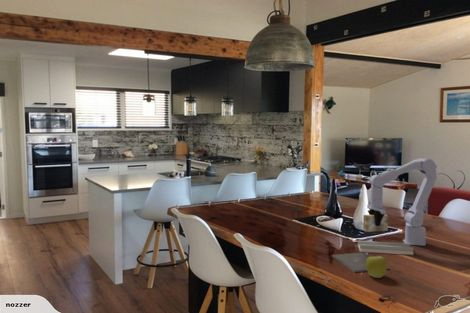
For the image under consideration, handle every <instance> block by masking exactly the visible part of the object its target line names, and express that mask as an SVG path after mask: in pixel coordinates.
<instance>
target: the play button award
mask: <svg viewBox="0 0 470 313" xmlns="http://www.w3.org/2000/svg"><path fill="white" fill-rule="evenodd" d="M369 257H372V256H370V255H369V254H368V253H367V252H351V253H340V254H331V258H332V259H334V260H336V261H337V262H338V263H340V264H341V265H343V266H345V267H346V268H347V269H349V270H350V271H352V272H353V273H362V272H363V273H365V272H368V271H367V267H366V261H367V259H368V258H369ZM389 269H390V266H389V265H387V270H389Z"/></svg>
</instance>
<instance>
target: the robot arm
mask: <svg viewBox="0 0 470 313" xmlns="http://www.w3.org/2000/svg"><path fill="white" fill-rule="evenodd" d="M436 169H437V165H436V163H435V161H434V160H433V159H430V158H424V157H419V158H415V159H414V160H411V161H410V162H408V163H405V164H403V165H401V166H399V167H397V168H396V169H395V168H387V169H386V170H385V171H383V172H379V173H377V174H374V175H372V176H371V177H370V179H369V184H370V186H371V187H370V203H369V204H367V208H366V209H367V212H368V215H374V217H375V225H376V226H380V224H381V220H382V218H383V216H384V215H385V214H386V215H387V211H386V210H387V209H385V208H383V199H384V197H383V195H384V192H383V191H384V189H383V188H384V186H385V184H388V183H390V182H393V181H394V180H397V179H398V178H399V176H400V175H403V174H405V173H407V172H410V171H413V170H416V171H419V172H421V175H422V177H423V179H422V182H421V185H420V186H419V190H418V192H417V194H416V197H415V199H414V202H413V204H412V206H411V207H409V208H408V211H407V212H405V213H404V215H403V219H404V222H405V229H404V231H405V232H404V234H405V235H404V239H402V241H403V243H410V246H424V247H425V246H427V245H426V243H427V242H426V241H427V240H426V239H427V231H426V230H427V229H426V227H425V226H422V225H423V223H424V218H425V217H424V216H425V213H424V210H425V207H426V204H427V203H428V199H429V197H430V195H431V193H432V190H433V187H434V185H435V184H436V180H437V170H436Z"/></svg>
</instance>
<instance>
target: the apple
mask: <svg viewBox="0 0 470 313" xmlns="http://www.w3.org/2000/svg"><path fill="white" fill-rule="evenodd" d="M387 266H388V263H387V261H386V259H385V257H383V256H382V255H381V256H379V255H378V256H371V257H369V258H368V259H367V261H366V267H367V271H366V272H367V273H368V275H369V276H371V277H372V278H374V279H381V278H383V277H384V276H385V275H386V273H387V270H388V269H387Z"/></svg>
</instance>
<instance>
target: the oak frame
mask: <svg viewBox="0 0 470 313" xmlns="http://www.w3.org/2000/svg"><path fill="white" fill-rule="evenodd" d="M388 227H389V215H388V214H387V213H386V214H385V215H384V216H383V218H382V220H381V224H380V226H376V225H375V217H374V215H369V214H363V222H362V229H363V230H362V231H364V232H366V233H367V232H385V231H387V232H388V230H389V229H388Z"/></svg>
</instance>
